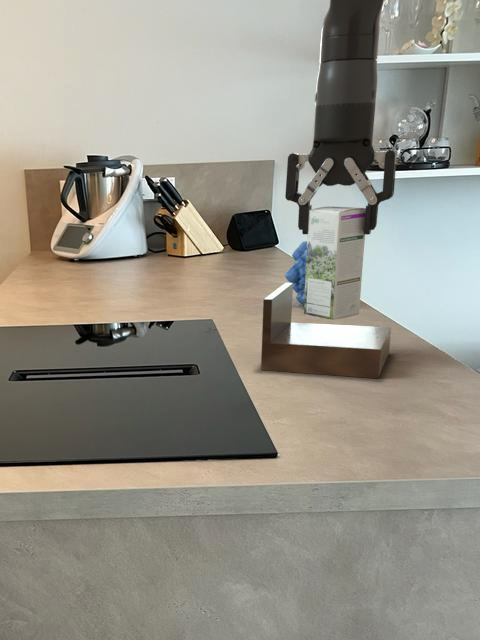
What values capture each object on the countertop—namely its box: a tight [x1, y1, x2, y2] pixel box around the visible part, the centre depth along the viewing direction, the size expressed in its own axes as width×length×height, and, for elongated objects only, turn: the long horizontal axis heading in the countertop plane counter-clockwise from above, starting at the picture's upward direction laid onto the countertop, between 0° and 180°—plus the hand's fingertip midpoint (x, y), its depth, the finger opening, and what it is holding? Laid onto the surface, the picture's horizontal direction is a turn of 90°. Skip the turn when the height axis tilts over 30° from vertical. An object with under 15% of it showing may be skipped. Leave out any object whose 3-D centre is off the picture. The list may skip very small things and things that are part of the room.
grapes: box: [284, 240, 307, 307], centre depth 151 cm, size 12×7×12 cm, turn 9°
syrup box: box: [303, 206, 366, 321], centre depth 109 cm, size 6×6×14 cm
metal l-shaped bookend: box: [260, 282, 392, 379], centre depth 112 cm, size 16×14×10 cm
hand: (336, 233), depth 107 cm, fingers closed on syrup box, 7 cm apart
